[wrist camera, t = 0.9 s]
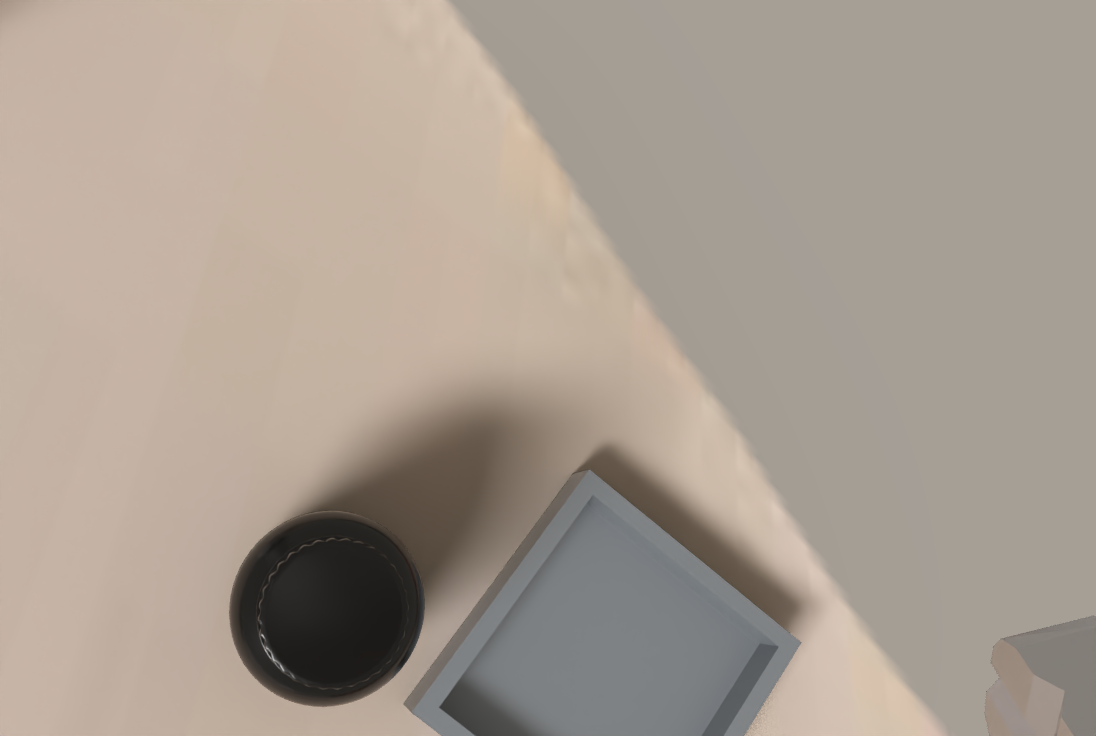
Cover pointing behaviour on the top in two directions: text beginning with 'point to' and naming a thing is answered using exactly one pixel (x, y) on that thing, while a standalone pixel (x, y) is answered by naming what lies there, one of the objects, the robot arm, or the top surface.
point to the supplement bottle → (326, 608)
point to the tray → (604, 636)
